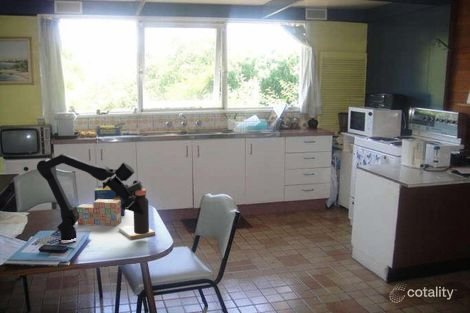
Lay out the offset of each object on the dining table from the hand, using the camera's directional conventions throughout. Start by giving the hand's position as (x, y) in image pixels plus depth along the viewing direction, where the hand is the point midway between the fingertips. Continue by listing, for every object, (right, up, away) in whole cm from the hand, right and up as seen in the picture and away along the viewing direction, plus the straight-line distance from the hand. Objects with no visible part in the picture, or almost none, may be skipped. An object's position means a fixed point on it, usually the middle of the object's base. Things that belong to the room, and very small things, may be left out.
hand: (144, 211), depth 211 cm
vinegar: (-1, -10, +1) cm, 10 cm away
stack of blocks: (-28, -10, +27) cm, 40 cm away
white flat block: (-6, -12, +12) cm, 17 cm away
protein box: (-27, -7, +43) cm, 51 cm away
